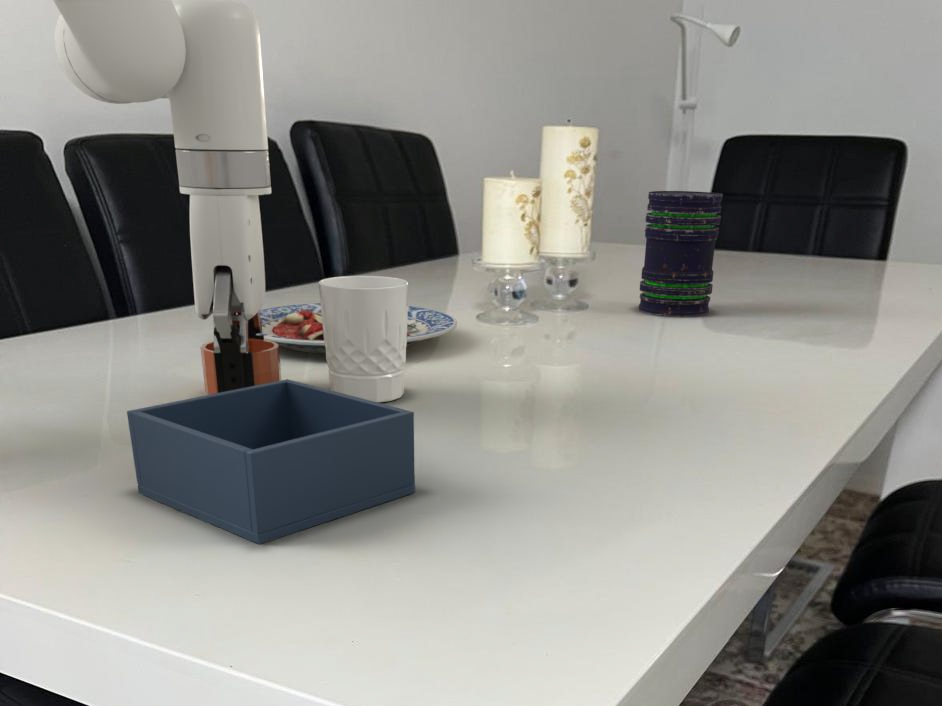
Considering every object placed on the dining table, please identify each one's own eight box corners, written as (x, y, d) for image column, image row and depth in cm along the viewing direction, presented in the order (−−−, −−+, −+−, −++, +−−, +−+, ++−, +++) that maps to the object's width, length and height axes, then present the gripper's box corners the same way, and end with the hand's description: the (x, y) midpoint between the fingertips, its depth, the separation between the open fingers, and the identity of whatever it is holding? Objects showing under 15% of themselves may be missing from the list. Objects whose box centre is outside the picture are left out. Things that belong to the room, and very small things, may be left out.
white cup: (359, 381, 97) (355, 273, 93) (426, 392, 94) (425, 280, 89) (307, 397, 91) (299, 282, 87) (376, 410, 88) (373, 291, 83)
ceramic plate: (229, 366, 102) (226, 336, 100) (234, 322, 124) (232, 297, 123) (476, 360, 107) (476, 332, 105) (438, 318, 129) (438, 294, 128)
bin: (138, 493, 67) (126, 410, 65) (292, 452, 76) (287, 378, 73) (259, 544, 59) (250, 453, 57) (415, 492, 68) (414, 411, 66)
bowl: (191, 394, 91) (185, 345, 89) (251, 382, 96) (247, 335, 94) (236, 407, 88) (231, 356, 85) (297, 394, 92) (293, 346, 90)
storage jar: (630, 305, 142) (639, 190, 135) (697, 305, 143) (710, 191, 136) (647, 317, 133) (658, 195, 126) (719, 317, 134) (733, 196, 127)
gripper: (198, 169, 91) (218, 367, 99) (154, 178, 75) (183, 412, 84) (281, 170, 91) (295, 367, 99) (255, 180, 76) (273, 412, 84)
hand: (243, 386), depth 91 cm, fingers closed on bowl, 6 cm apart
